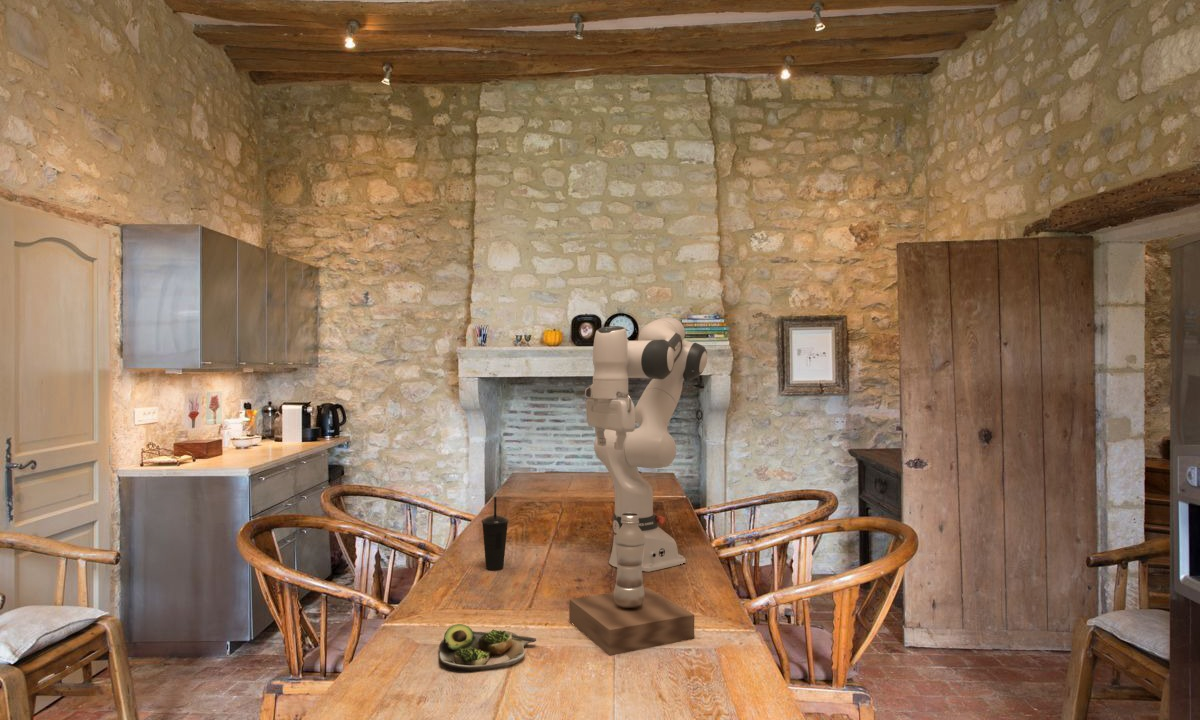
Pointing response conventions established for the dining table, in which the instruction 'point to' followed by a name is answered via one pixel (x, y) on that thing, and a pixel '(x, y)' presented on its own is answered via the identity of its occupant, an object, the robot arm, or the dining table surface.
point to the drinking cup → (494, 540)
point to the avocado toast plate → (479, 648)
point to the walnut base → (631, 622)
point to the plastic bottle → (629, 562)
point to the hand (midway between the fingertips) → (610, 447)
